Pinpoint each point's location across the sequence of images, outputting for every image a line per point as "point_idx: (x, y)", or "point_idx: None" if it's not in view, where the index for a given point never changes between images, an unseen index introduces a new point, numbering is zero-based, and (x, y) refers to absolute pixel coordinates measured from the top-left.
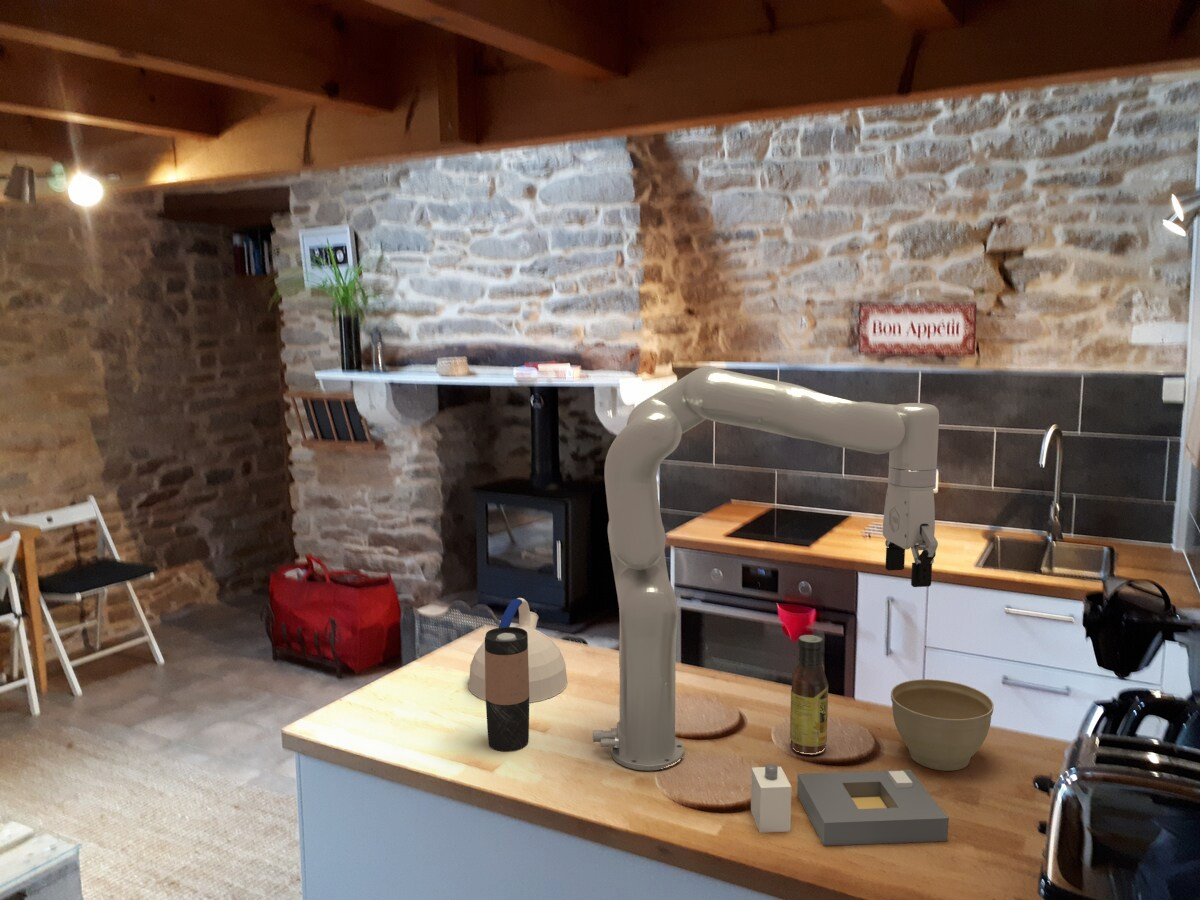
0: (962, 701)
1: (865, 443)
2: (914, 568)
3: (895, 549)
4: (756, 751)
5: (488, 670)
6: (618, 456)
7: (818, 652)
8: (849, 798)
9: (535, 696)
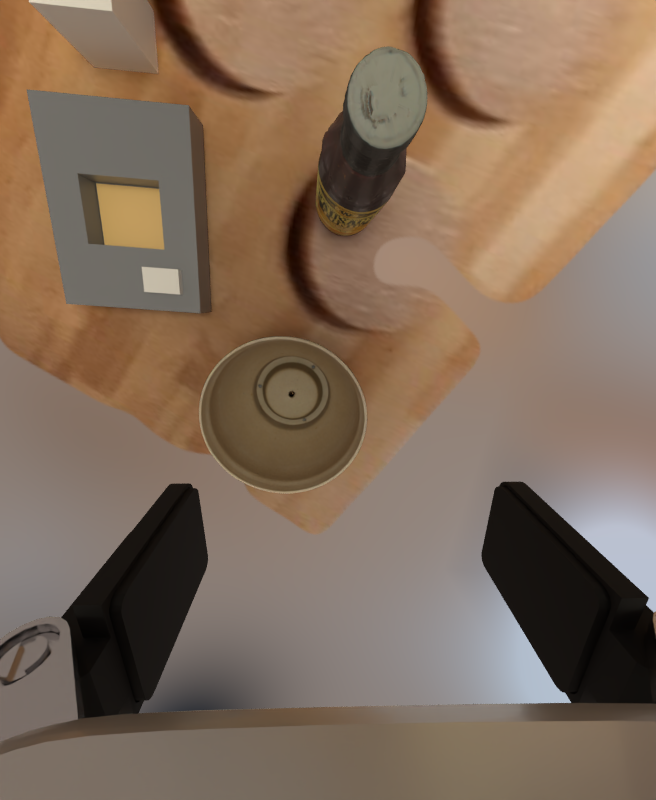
0: (326, 463)
1: None
2: (104, 573)
3: (581, 638)
4: None
5: None
6: None
7: (348, 138)
8: (109, 172)
9: None
